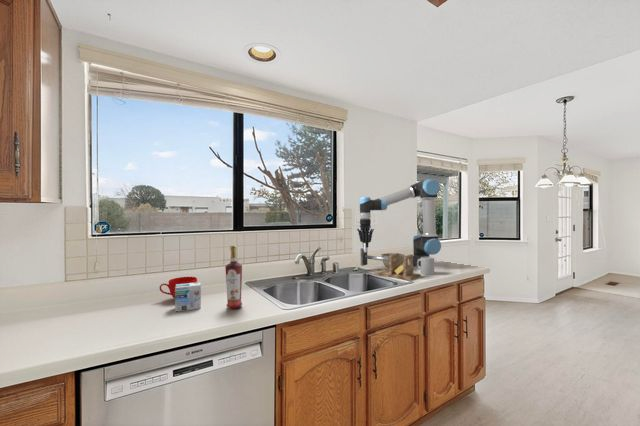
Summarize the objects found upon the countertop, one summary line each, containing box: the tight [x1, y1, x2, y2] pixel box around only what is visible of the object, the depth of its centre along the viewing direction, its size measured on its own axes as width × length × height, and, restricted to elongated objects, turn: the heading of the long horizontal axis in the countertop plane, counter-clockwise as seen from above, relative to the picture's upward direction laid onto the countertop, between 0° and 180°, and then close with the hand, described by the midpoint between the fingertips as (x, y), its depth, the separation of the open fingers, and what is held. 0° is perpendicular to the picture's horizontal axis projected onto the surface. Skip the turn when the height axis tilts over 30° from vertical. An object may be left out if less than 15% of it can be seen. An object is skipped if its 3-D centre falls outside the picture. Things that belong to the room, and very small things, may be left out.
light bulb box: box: [174, 281, 202, 313], centre depth 135 cm, size 11×7×11 cm, turn 113°
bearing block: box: [373, 252, 422, 281], centre depth 195 cm, size 26×14×14 cm, turn 47°
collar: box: [395, 264, 404, 275], centre depth 193 cm, size 3×7×7 cm
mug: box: [416, 256, 435, 276], centre depth 201 cm, size 12×8×11 cm
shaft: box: [360, 247, 396, 267], centre depth 205 cm, size 25×6×12 cm, turn 47°
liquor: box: [225, 244, 243, 310], centre depth 135 cm, size 7×7×28 cm
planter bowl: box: [381, 252, 406, 270], centre depth 215 cm, size 16×16×11 cm
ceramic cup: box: [159, 276, 198, 300], centre depth 148 cm, size 13×17×10 cm
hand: (365, 252), depth 212 cm, fingers closed
